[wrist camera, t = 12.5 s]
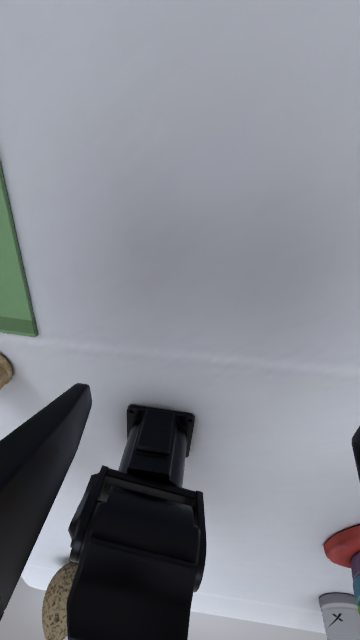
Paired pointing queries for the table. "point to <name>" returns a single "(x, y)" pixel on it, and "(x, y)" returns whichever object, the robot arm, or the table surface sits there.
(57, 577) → the decorative egg
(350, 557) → the stacking bear
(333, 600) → the travel mug
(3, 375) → the sprinkles bottle
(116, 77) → the table surface
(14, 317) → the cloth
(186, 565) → the robot arm
